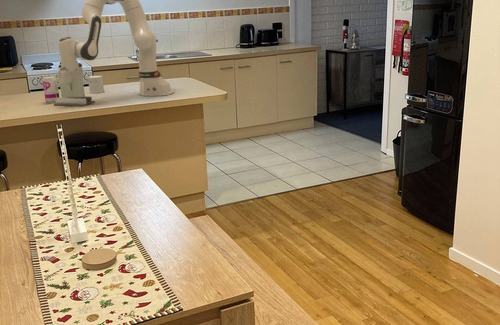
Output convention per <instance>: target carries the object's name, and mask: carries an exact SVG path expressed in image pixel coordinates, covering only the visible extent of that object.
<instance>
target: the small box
mask: <svg viewBox="0 0 500 325" xmlns="http://www.w3.org/2000/svg"><path fill="white" fill-rule="evenodd" d="M103 80H104V78H103V76H102V75H91V76H88V77H87V83H88V88H89V94H102V93H104V92H105V88H104V81H103Z"/></svg>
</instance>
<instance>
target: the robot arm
mask: <svg viewBox="0 0 500 325" xmlns="http://www.w3.org/2000/svg"><path fill="white" fill-rule="evenodd" d="M116 3H119V5H120V6H121V7H122V9H123V12H124V15H125V18H126V19H127V22H128V24H129V28H130V31H131V35H132V38H133V40H134V42H133V43H134V44H135V46H136V47H137V49H138V58H137V60H138V68H139V71H138V78H139V93H138V94H139V95H140V96H142V97H150V96H151V97H153V96H154V97H155V96H160V97H161V96H169V95H173V94H174V93H175V90H173V89H172V88H171V87H172V86H171V83H169V81H167V80H166V79H164V78H163V77H162V76H161V74H162V72H161V71H159V70H158V66H157V38H156V37H157V36H156V35H155V34H156V33H154V32H153V31H152V30H150V27H149V24H148V19H147V17H146V14H145V12H144V9H143V7H142V4H141V2H140V0H84V3H83V6H82V9H81V10H82V11H81V16H82V18H83V20H84V21H85V22H87V24H88V34H87V38H86V41H85V42H84V41H81V40H80V41H79V40H77V39H74V38H73V37H72V36H65V37H62V38H60V39H59V40H58V53H59V56H60V67H59V68H58V70H57V71H58V72H57V84H58V85H60V84H66V86H67V87H68V90H69V91H71V90H72V87H71V86H70V83H71V82H72V80H75V79H83V80H84V70H83V64H82V63H81V62H77V59H81V60H86V61H94V60H96V58H97V57H98V55H99V39H100V34H101V29H102V15H103V12H104V7H105V5H115V4H116Z"/></svg>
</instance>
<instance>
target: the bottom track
mask: <svg viewBox="0 0 500 325" xmlns="http://www.w3.org/2000/svg"><path fill="white" fill-rule="evenodd" d="M55 99H56V103H53V106H56V107H85V106H88V105H91V104H93V103H94V104H95V102H96V101H95V100H93V96H90V95H89V96H86V95H85V97H62V96H61V97H59V98H55Z"/></svg>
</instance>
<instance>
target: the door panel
mask: <svg viewBox="0 0 500 325" xmlns="http://www.w3.org/2000/svg"><path fill="white" fill-rule="evenodd" d="M70 86H71V87H72V90H71V91H69V90H68V87H67V86H66V84H59V88H60V95H61V98H62V97H85V96H86V94H85V87H84V86H85V85H84V78H83V79H75V80H72V82H71V83H70Z"/></svg>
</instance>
